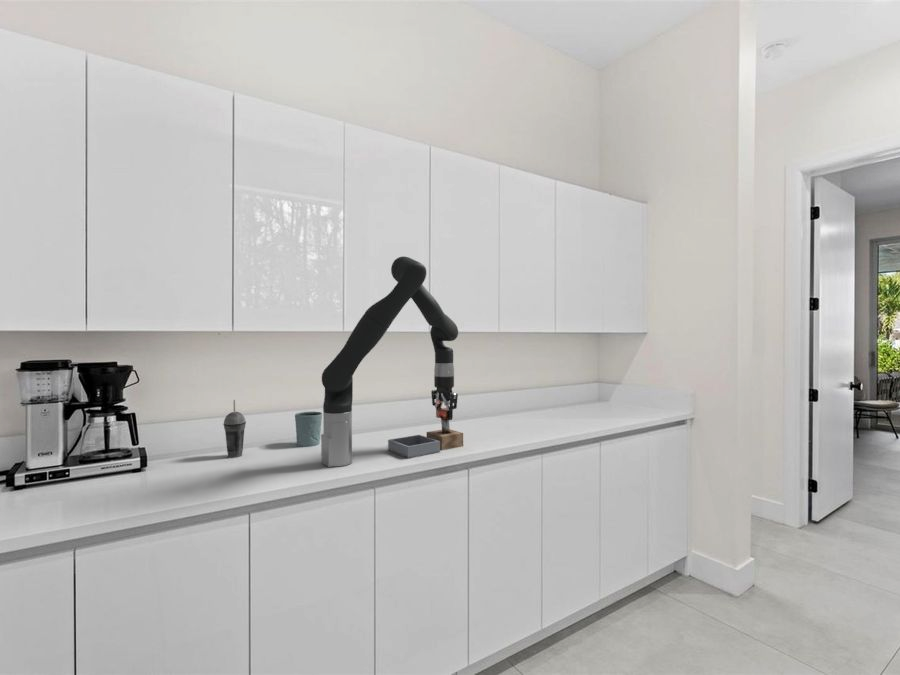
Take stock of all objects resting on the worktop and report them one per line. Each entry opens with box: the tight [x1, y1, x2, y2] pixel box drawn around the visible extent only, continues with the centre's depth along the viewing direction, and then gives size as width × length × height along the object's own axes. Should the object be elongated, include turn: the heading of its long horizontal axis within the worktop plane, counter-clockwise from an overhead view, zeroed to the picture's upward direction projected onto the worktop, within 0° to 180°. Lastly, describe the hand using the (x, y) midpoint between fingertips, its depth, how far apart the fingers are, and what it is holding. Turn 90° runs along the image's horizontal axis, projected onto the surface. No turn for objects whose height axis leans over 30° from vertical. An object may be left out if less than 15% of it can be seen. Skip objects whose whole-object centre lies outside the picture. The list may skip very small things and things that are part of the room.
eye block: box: [426, 429, 464, 451], centre depth 178 cm, size 10×10×5 cm
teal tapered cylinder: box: [294, 411, 323, 448], centre depth 182 cm, size 10×10×12 cm
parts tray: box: [387, 434, 441, 459], centre depth 170 cm, size 14×14×4 cm
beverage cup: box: [222, 399, 247, 459], centre depth 165 cm, size 7×7×20 cm
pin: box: [435, 407, 451, 434], centre depth 179 cm, size 6×6×11 cm
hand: (444, 418), depth 178 cm, fingers closed on pin, 6 cm apart
